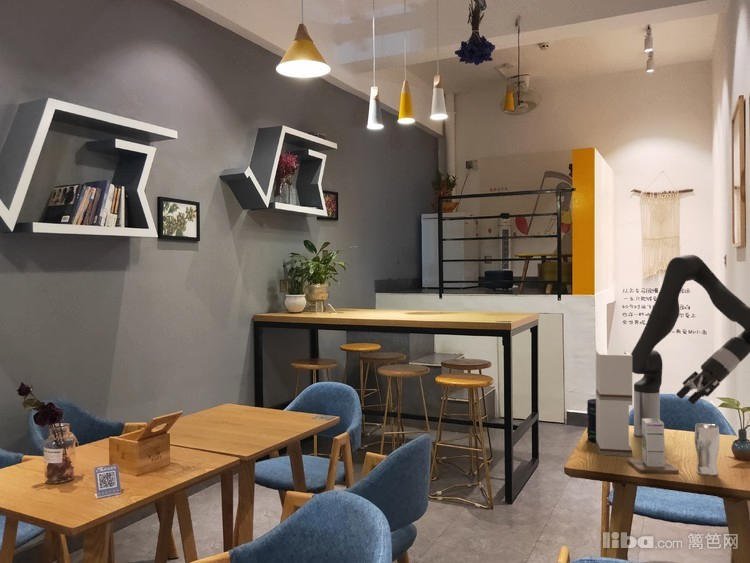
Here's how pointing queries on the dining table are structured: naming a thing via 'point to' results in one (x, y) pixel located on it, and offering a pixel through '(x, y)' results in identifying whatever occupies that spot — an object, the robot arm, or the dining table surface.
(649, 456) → the syrup box
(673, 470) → the walnut board
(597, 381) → the white stacked pillar
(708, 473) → the beer glass
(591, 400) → the storage jar
